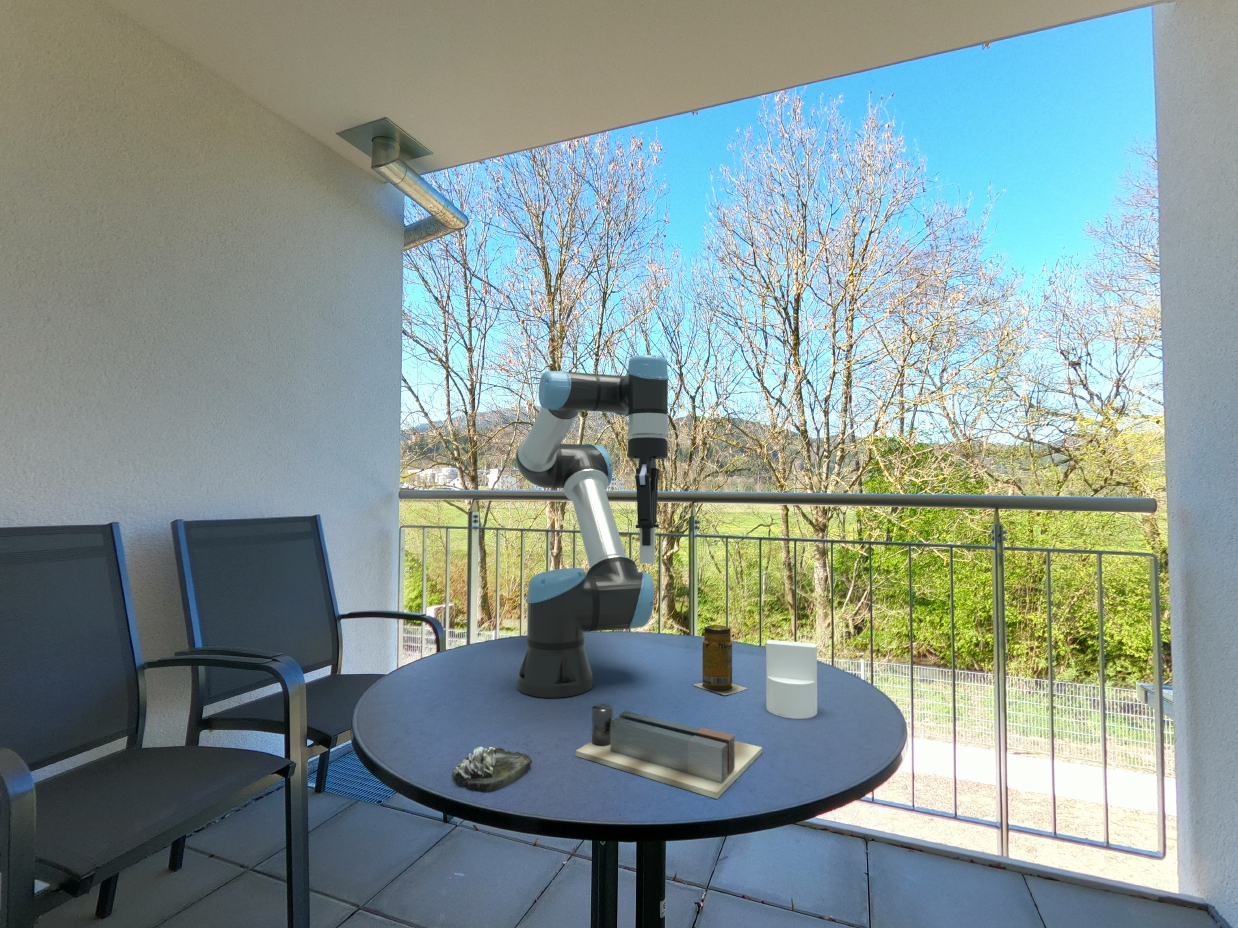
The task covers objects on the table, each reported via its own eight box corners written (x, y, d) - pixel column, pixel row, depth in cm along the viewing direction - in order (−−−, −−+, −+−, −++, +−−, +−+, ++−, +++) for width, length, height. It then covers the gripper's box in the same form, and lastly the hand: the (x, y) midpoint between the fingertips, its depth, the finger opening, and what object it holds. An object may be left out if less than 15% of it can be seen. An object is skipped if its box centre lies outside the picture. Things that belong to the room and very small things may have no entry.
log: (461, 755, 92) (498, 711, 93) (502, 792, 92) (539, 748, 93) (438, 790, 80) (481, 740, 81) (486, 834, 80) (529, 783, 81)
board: (575, 755, 91) (575, 750, 91) (634, 720, 106) (634, 716, 106) (717, 798, 79) (717, 792, 79) (762, 752, 93) (761, 747, 93)
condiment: (716, 679, 129) (716, 622, 130) (748, 689, 123) (747, 629, 123) (692, 685, 125) (692, 626, 125) (724, 696, 118) (724, 634, 119)
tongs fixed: (585, 744, 94) (585, 710, 94) (599, 735, 97) (599, 702, 97) (721, 783, 81) (721, 743, 82) (732, 772, 85) (732, 734, 85)
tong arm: (618, 744, 93) (619, 713, 93) (625, 739, 95) (625, 709, 95) (729, 773, 84) (729, 740, 84) (734, 768, 85) (734, 735, 86)
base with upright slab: (817, 704, 114) (817, 639, 115) (816, 721, 106) (816, 651, 106) (768, 698, 117) (768, 635, 118) (763, 714, 109) (763, 647, 109)
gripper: (634, 440, 122) (634, 558, 121) (621, 435, 110) (620, 566, 109) (671, 440, 121) (671, 559, 120) (662, 434, 108) (662, 567, 107)
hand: (647, 562), depth 114 cm, fingers closed
